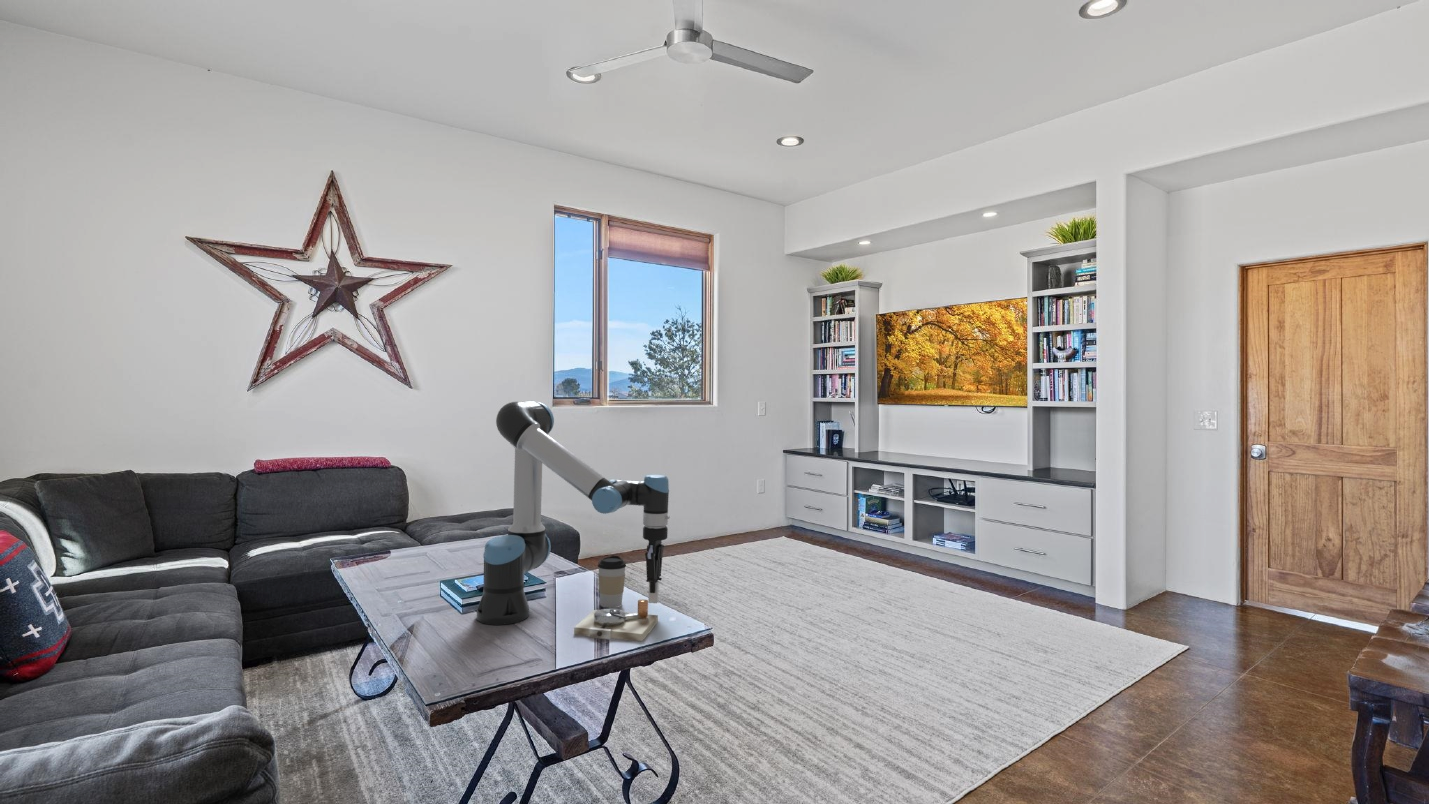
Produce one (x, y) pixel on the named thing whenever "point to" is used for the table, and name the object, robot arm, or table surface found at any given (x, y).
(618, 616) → the cam capstan
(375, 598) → the table surface
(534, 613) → the table surface
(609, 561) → the coffee cup
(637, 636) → the stand
